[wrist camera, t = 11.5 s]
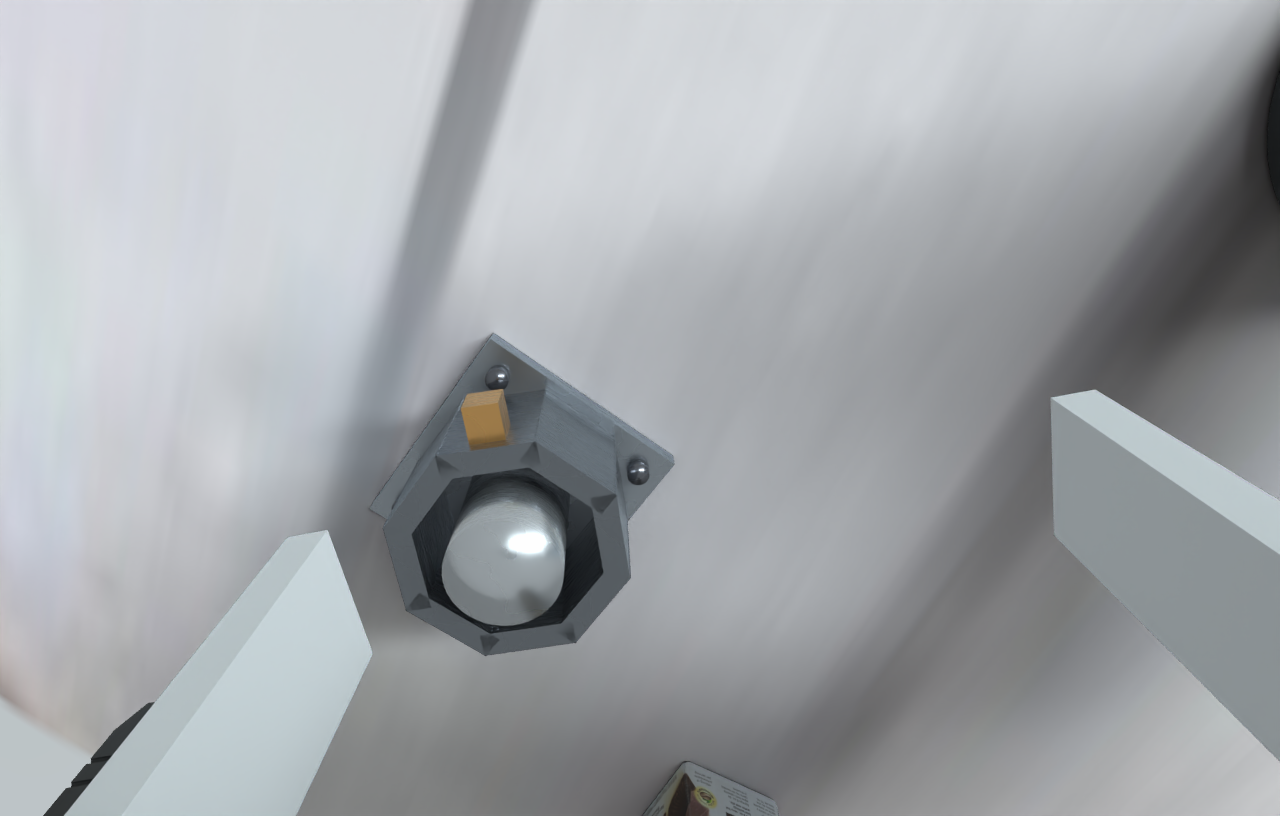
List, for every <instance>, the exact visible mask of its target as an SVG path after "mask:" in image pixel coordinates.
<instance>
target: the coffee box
mask: <svg viewBox="0 0 1280 816" xmlns="http://www.w3.org/2000/svg"><path fill="white" fill-rule="evenodd" d="M643 816H779V813H778V809H777V805H776V802H775V801H774V800H772V799H770V798H768V797H766V796H764V795H762V794H759V793H757V792H755V791H753V790H750V789H748V788H746V787H744V786H742V785H740V784H737V783H735V782H733V781H731V780H729V779H726V778H724V777H722V776H720V775H718V774H716V773H713V772H711V771H709V770H707V769H705V768H702V767H700V766H698V765H696V764H693V763H691V762H685V763H683V764H682V765H681V766H680V767H679V769H678V770H677V771H676V772H675V774H674V775H673V776H672V778H671V779H670V780H669V782H668V783H667V784H666V786H665V787H664V788H663V790H662V791H661V792H660V794H659V795H658V796H657V798H656V799H655V800H654V801H653V803H652V804H651V805H650V807H649V808H648V809H647V811H646V812H645V813H644V814H643Z"/></svg>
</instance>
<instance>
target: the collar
mask: <svg viewBox="0 0 1280 816" xmlns="http://www.w3.org/2000/svg"><path fill="white" fill-rule="evenodd" d="M522 468H531V469H532V470H534V471H536V472H537V473H539V474H540V475H542V476H543V477H545V478H546V479H548V480H549V481H551V482H553V483H554V484H556V485H557V486H559V487H560V488H562V489H563V490H565V491H566V492H568V493H570V494H571V495H573V496H574V497H576V498H577V499H579V500H580V501H582V502H584V503H585V504H587V505H588V506H590V507H591V508H592V511H593V518H592V519H591V520H590V521H589V523H588V524H587V525H586V526H585V528H584V529H583V530H582V531H581V532H580V534H579V535H578V536H577V537H576V539H575V540H574V541H573V542H572V544H571V545H570V546H569V547H568V548H567V549H566V554H565V566H564V577H563V584H562V588H561V591H560V593H559V595H558V597H557V599H556V601H555V602H554V603H553V605H552V606H551V607H550V608H549V609H548V610H547V611H546V612H544V613H543V614H542V615H540V616H538V617H537V618H535V619H533V620H531V621H528V622H525V623H522V624H517V625H509V626H499V625H491V624H487V623H483V622H481V621H478V620H476V619H474V618H472V617H470V616H468V615H467V614H465V613H464V612H462V611H461V610H460V609H459V608H458V607H457V606H456V605H455V604H454V603H453V602H452V600H451V599H450V597H449V596H448V594H447V592H446V590H445V587H444V584H443V580H442V563H443V559H444V556H445V553H446V550H447V547H448V544H449V542H450V539H451V536H452V533H453V530H454V527H455V525H454V521H453V517H452V513H451V509H450V505H449V501H448V497H447V493H446V489H445V488H446V487H447V485H448V484H449V483H450V481H451V480H452V479H453V478H460V477H467V476H474V475H481V474H488V473H494V472H501V471H508V470H515V469H522ZM383 530H384V534H385V537H386V541H387V544H388V548H389V551H390V555H391V558H392V562H393V565H394V569H395V572H396V576H397V579H398V583H399V587H400V590H401V594H402V597H403V601H404V604H405V608H406V611H408V612H410V613H411V614H413V615H415V616H417V617H418V618H420V619H422V620H424V621H425V622H427V623H429V624H431V625H432V626H434V627H436V628H438V629H439V630H441V631H443V632H445V633H446V634H448V635H450V636H452V637H453V638H455V639H457V640H459V641H460V642H462V643H464V644H466V645H467V646H469V647H471V648H473V649H474V650H476V651H478V652H480V653H481V654H483V655H484V656H487V655H494V654H501V653H508V652H515V651H522V650H529V649H536V648H543V647H549V646H556V645H563V644H570V643H576V642H577V641H578V639H579V638H580V637H581V636H582V635H583V634H584V632H585V631H586V630H587V629H588V628H589V626H590V625H591V624H592V623H593V622H594V621H595V619H596V618H597V617H598V616H599V615H600V613H601V612H602V611H603V610H604V609H605V608H606V606H607V605H608V604H609V603H610V602H611V601H612V599H613V598H614V597H615V596H616V595H617V593H618V592H619V591H620V590H621V589H622V588H623V586H624V585H625V584H626V583H627V582H628V581H629V579H630V578H631V572H630V554H629V537H628V520H627V508H626V504H625V497H624V491H623V485H622V479H621V473H620V467H619V461H618V455H617V448H616V442H615V435H613V434H612V433H610V432H609V431H607V430H606V429H604V428H603V427H602V426H600V425H599V424H597V423H596V422H594V421H593V420H591V419H590V418H588V417H587V416H585V415H584V414H582V413H581V412H579V411H578V410H576V409H575V408H573V407H572V406H571V405H569V404H568V403H566V402H565V401H563V400H562V399H560V398H559V397H557V396H556V395H554V394H553V393H551V392H550V391H548V390H547V389H541V390H535V391H528V392H521V393H514V394H507V395H504V392H503V389H498V390H491V391H484V392H478V393H471V394H467V396H466V398H465V400H464V401H461V402H460V404H459V406H458V407H457V409H456V410H455V411H454V413H453V414H452V416H451V417H450V418H449V420H448V421H447V422H446V424H445V425H444V427H443V428H442V429H441V431H440V432H439V434H438V435H437V436H436V438H435V439H434V441H433V442H432V443H431V445H430V446H429V447H428V449H427V450H426V452H425V453H424V454H423V456H422V457H421V459H420V460H419V461H418V463H416V465H415V467H414V469H413V471H412V473H411V475H410V477H409V479H408V480H407V482H406V484H405V486H404V488H403V490H402V492H401V494H400V496H399V498H398V500H397V502H396V503H395V505H394V507H393V509H392V511H391V513H390V515H389V517H388V519H387V521H386V523H385V524H384V526H383Z"/></svg>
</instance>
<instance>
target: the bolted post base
mask: <svg viewBox="0 0 1280 816" xmlns="http://www.w3.org/2000/svg"><path fill="white" fill-rule="evenodd" d="M498 389H503V392H504V395H507V394H514V393H521V392H528V391H535V390H541V389H547V390H548V391H550V392H551V393H553V394H554V395H556V396H557V397H559V398H560V399H562V400H563V401H565V402H566V403H568V404H569V405H571V406H572V407H573V408H575V409H576V410H578V411H579V412H581V413H582V414H584V415H585V416H587V417H588V418H590V419H591V420H593V421H594V422H596V423H597V424H599V425H600V426H602V427H603V428H604V429H606V430H607V431H609V432H610V433H612V434H613V435H615V442H616V448H617V455H618V461H619V467H620V473H621V479H622V485H623V491H624V497H625V504H626V508H627V520H629V519H630V518H631V517H632V515H633V514H634V513H635V512H636V510H637V509H638V508H639V507H640V506H641V504H642V503H643V502H644V501H645V500H646V498H647V497H648V496H649V495H650V494H651V492H652V491H653V490H654V489H655V487H656V486H657V485H658V484H659V483H660V481H661V480H662V479H663V478H664V477H665V475H666V474H667V473H668V472H669V471H670V469H671V468H672V467H673V466H674V459H673V455H671V454H670V453H668V452H667V451H666V450H664V449H663V448H661V447H660V446H658V445H657V444H655V443H654V442H652V441H651V440H649V439H648V438H647V437H645V436H644V435H642V434H641V433H639V432H638V431H636V430H635V429H633V428H632V427H630V426H629V425H627V424H626V423H625V422H623V421H622V420H620V419H619V418H617V417H616V416H614V415H613V414H611V413H610V412H608V411H607V410H606V409H604V408H603V407H601V406H600V405H598V404H597V403H595V402H594V401H592V400H591V399H589V398H588V397H587V396H585V395H584V394H582V393H581V392H579V391H578V390H576V389H575V388H573V387H572V386H570V385H569V384H568V383H566V382H565V381H563V380H562V379H560V378H559V377H557V376H556V375H554V374H553V373H551V372H550V371H549V370H547V369H546V368H544V367H543V366H541V365H540V364H538V363H537V362H535V361H534V360H532V359H531V358H529V357H528V356H527V355H525V354H524V353H522V352H521V351H519V350H518V349H516V348H515V347H513V346H512V345H510V344H509V343H508V342H506V341H505V340H503V339H502V338H500V337H499V336H497V335H496V334H494V333H493V334H492V335H491V337H490V338H489V340H488V341H487V342H486V344H485V345H484V347H483V348H482V349H481V351H480V352H479V354H478V355H477V356H476V358H475V359H474V361H473V362H472V363H471V365H470V366H469V368H468V369H467V371H466V372H465V373H464V375H463V376H462V378H461V379H460V380H459V382H458V383H457V385H456V386H455V387H454V389H453V390H452V392H451V393H450V394H449V396H448V397H447V399H446V400H445V401H444V403H443V404H442V406H441V407H440V408H439V410H438V411H437V413H436V414H435V415H434V417H433V418H432V420H431V421H430V423H429V424H428V425H427V427H426V428H425V430H424V431H423V432H422V434H421V435H420V437H419V438H418V439H417V441H416V442H415V444H414V445H413V446H412V448H411V449H410V451H409V452H408V453H407V455H406V456H405V458H404V459H403V460H402V462H401V463H400V465H399V466H398V467H397V469H396V470H395V472H394V473H393V475H392V476H391V477H390V479H389V480H388V482H387V483H386V484H385V486H384V487H383V489H382V490H381V491H380V493H379V494H378V496H377V497H376V498H375V500H374V502H373V503H372V505H371V507H370V510H372V511H374V512H376V513H377V514H379V515H381V516H382V517H384V518H386V519H388V517H389V515H390V513H391V511H392V509H393V507H394V505H395V503H396V502H397V500H398V498H399V496H400V494H401V492H402V490H403V488H404V486H405V484H406V482H407V480H408V479H409V477H410V475H411V473H412V471H413V469H414V467H415V465H416V463H418V461H419V460H420V459H421V457H422V456H423V454H424V453H425V452H426V450H427V449H428V447H429V446H430V445H431V443H432V442H433V441H434V439H435V438H436V436H437V435H438V434H439V432H440V431H441V429H442V428H443V427H444V425H445V424H446V422H447V421H448V420H449V418H450V417H451V416H452V414H453V413H454V411H455V410H456V409H457V407H458V406H459V404H460V402H461V401H464V400H465V398H466V396H467V394H471V393H478V392H484V391H491V390H498ZM445 489H446V493H447V497H448V501H449V505H450V509H451V513H452V517H453V521H454V525H455V527H454V530H453V533H452V536H451V539H450V542H449V544H448V547H447V550H446V553H445V556H444V559H443V563H442V580H443V584H444V587H445V590H446V592H447V594H448V596H449V597H450V599H451V600H452V602H453V603H454V604H455V605H456V606H457V607H458V608H459V609H460V610H461V611H462V612H464V613H465V614H467V615H468V616H470V617H472V618H474V619H476V620H478V621H481V622H483V623H487V624H491V625H499V626H509V625H517V624H522V623H525V622H528V621H531V620H533V619H535V618H537V617H538V616H540V615H542V614H543V613H544V612H546V611H547V610H548V609H549V608H550V607H551V606H552V605H553V603H554V602H555V601H556V599H557V597H558V595H559V593H560V591H561V588H562V584H563V577H564V566H565V554H566V549H567V548H568V547H569V546H570V545H571V544H572V542H573V541H574V540H575V539H576V537H577V536H578V535H579V534H580V532H581V531H582V530H583V529H584V528H585V526H586V525H587V524H588V523H589V521H590V520H591V519H592V518H593V511H592V508H591V507H590V506H588V505H587V504H585V503H584V502H582V501H580V500H579V499H577V498H576V497H574V496H573V495H571V494H570V493H568V492H566V491H565V490H563V489H562V488H560V487H559V486H557V485H556V484H554V483H553V482H551V481H549V480H548V479H546V478H545V477H543V476H542V475H540V474H539V473H537V472H536V471H534V470H532V469H531V468H522V469H515V470H508V471H501V472H494V473H488V474H481V475H474V476H467V477H460V478H453V479H452V480H451V481H450V483H449V484H448V485H447V487H446V488H445Z"/></svg>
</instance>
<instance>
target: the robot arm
mask: <svg viewBox="0 0 1280 816" xmlns="http://www.w3.org/2000/svg"><path fill="white" fill-rule="evenodd" d="M1267 146H1268V161H1269V169H1270V174H1271V179H1272V183H1273V187H1274V190H1275V193H1276V196H1277V199H1278V201H1279V203H1280V72H1279V75H1278V78H1277V81H1276V85H1275V89H1274V93H1273V97H1272V102H1271V107H1270V114H1269V122H1268V136H1267ZM1051 433H1052V474H1053V514H1054V536H1055V537H1056V538H1057V539H1058V540H1059V541H1060V542H1061V543H1062V544H1063V545H1064V546H1065V547H1066V548H1067V549H1068V550H1069V551H1070V552H1071V553H1072V554H1073V555H1074V556H1075V557H1076V558H1077V559H1078V560H1079V561H1080V562H1081V563H1082V564H1083V565H1084V566H1085V567H1086V568H1087V569H1088V570H1089V571H1090V572H1091V573H1092V574H1093V575H1094V576H1095V577H1096V578H1097V579H1098V580H1099V581H1100V582H1101V583H1102V584H1103V585H1104V586H1105V587H1106V588H1107V589H1108V590H1109V591H1110V592H1111V593H1112V594H1113V595H1114V596H1115V597H1116V598H1117V599H1118V600H1119V601H1120V602H1121V603H1122V604H1123V605H1124V606H1125V607H1126V608H1127V609H1128V610H1129V611H1130V612H1131V613H1132V614H1133V615H1134V616H1135V617H1136V618H1137V619H1138V620H1139V621H1140V622H1141V623H1142V624H1143V625H1144V626H1145V627H1146V628H1147V629H1148V630H1149V631H1150V632H1151V633H1152V634H1153V635H1154V636H1155V637H1156V638H1157V639H1158V640H1159V641H1160V642H1161V643H1162V644H1163V645H1164V646H1165V647H1166V648H1167V649H1168V650H1169V651H1170V652H1171V653H1172V654H1173V655H1174V656H1175V657H1176V658H1177V659H1178V660H1179V661H1180V662H1181V663H1182V664H1183V665H1184V666H1185V667H1186V668H1187V669H1188V670H1189V671H1190V672H1191V673H1192V674H1193V675H1194V676H1195V677H1196V678H1197V679H1198V680H1199V681H1200V682H1201V683H1202V684H1203V685H1204V686H1205V687H1206V688H1207V689H1208V690H1209V691H1210V692H1211V693H1212V694H1213V695H1214V696H1215V697H1216V698H1217V699H1218V700H1219V701H1220V702H1221V703H1222V704H1223V705H1224V706H1225V707H1226V708H1227V709H1228V710H1229V711H1230V712H1231V713H1232V714H1233V715H1234V716H1235V717H1236V718H1237V719H1238V720H1239V721H1240V722H1241V723H1242V724H1243V725H1244V726H1245V727H1246V728H1247V729H1248V730H1249V731H1250V732H1251V733H1252V734H1253V735H1254V736H1255V737H1256V738H1257V739H1258V740H1259V741H1260V742H1261V743H1262V744H1263V745H1264V746H1265V747H1266V748H1267V749H1268V750H1269V751H1270V752H1271V753H1272V754H1273V755H1274V756H1275V757H1276V758H1277V759H1278V760H1279V761H1280V500H1278V499H1276V498H1275V497H1273V496H1271V495H1270V494H1268V493H1266V492H1265V491H1263V490H1261V489H1260V488H1258V487H1256V486H1255V485H1253V484H1251V483H1250V482H1248V481H1246V480H1245V479H1243V478H1241V477H1240V476H1238V475H1236V474H1235V473H1233V472H1231V471H1230V470H1228V469H1226V468H1225V467H1223V466H1221V465H1220V464H1218V463H1216V462H1215V461H1213V460H1211V459H1210V458H1208V457H1206V456H1205V455H1203V454H1201V453H1200V452H1198V451H1196V450H1195V449H1193V448H1191V447H1190V446H1188V445H1186V444H1185V443H1183V442H1181V441H1180V440H1178V439H1176V438H1175V437H1173V436H1171V435H1170V434H1168V433H1167V432H1165V431H1163V430H1162V429H1160V428H1158V427H1157V426H1155V425H1153V424H1152V423H1150V422H1148V421H1147V420H1145V419H1143V418H1142V417H1140V416H1138V415H1137V414H1135V413H1133V412H1132V411H1130V410H1128V409H1127V408H1125V407H1123V406H1122V405H1120V404H1118V403H1117V402H1115V401H1113V400H1112V399H1110V398H1108V397H1107V396H1105V395H1103V394H1102V393H1100V392H1098V391H1097V390H1090V391H1084V392H1079V393H1073V394H1068V395H1063V396H1057V397H1052V398H1051ZM372 654H373V652H372V650H371V647H370V644H369V641H368V639H367V636H366V633H365V631H364V628H363V625H362V622H361V620H360V617H359V614H358V612H357V609H356V606H355V603H354V601H353V598H352V595H351V592H350V590H349V587H348V584H347V582H346V579H345V576H344V573H343V571H342V568H341V565H340V563H339V560H338V557H337V554H336V552H335V549H334V546H333V543H332V541H331V538H330V535H329V533H328V530H325V531H319V532H314V533H308V534H303V535H297V536H292V537H287V539H286V540H285V541H284V542H283V543H282V545H281V546H280V547H279V548H278V550H277V551H276V552H275V553H274V555H273V556H272V557H271V558H270V560H269V561H268V562H267V563H266V565H265V566H264V567H263V568H262V570H261V571H260V572H259V573H258V575H257V576H256V577H255V578H254V580H253V581H252V582H251V583H250V585H249V586H248V587H247V588H246V590H245V591H244V592H243V593H242V595H241V596H240V597H239V598H238V600H237V601H236V602H235V603H234V605H233V606H232V607H231V608H230V610H229V611H228V612H227V613H226V615H225V616H224V617H223V618H222V619H221V621H220V622H219V623H218V624H217V626H216V627H215V628H214V629H213V631H212V632H211V633H210V634H209V636H208V637H207V638H206V639H205V641H204V642H203V643H202V644H201V646H200V647H199V648H198V649H197V651H196V652H195V653H194V654H193V656H192V657H191V658H190V659H189V661H188V662H187V663H186V664H185V666H184V667H183V668H182V669H181V671H180V672H179V673H178V674H177V676H176V677H175V678H174V679H173V681H172V682H171V683H170V684H169V686H168V687H167V688H166V689H165V690H164V692H163V693H162V694H161V695H160V697H159V698H158V699H157V700H156V702H153V703H148V704H147V705H145V706H144V707H143V708H142V709H140V710H139V711H138V712H137V713H135V714H134V715H133V716H132V717H130V718H129V719H128V720H127V721H125V722H124V723H123V724H122V725H120V726H119V727H118V728H117V729H115V730H114V731H113V733H112V734H111V735H110V736H109V737H108V739H107V740H106V741H105V742H104V743H103V745H102V746H101V747H100V748H99V749H98V751H97V752H96V753H95V754H94V755H93V757H92V758H91V764H86V765H85V766H84V767H83V769H82V770H81V771H80V772H79V773H78V775H77V776H76V777H75V778H74V779H73V781H72V782H71V783H72V786H71V788H66V789H65V790H64V791H63V793H62V794H61V795H60V796H59V797H58V799H57V800H56V801H55V802H54V803H53V805H52V806H51V807H50V808H49V809H48V811H47V812H46V813H45V814H44V815H43V816H296V815H297V813H298V811H299V808H300V806H301V804H302V802H303V800H304V798H305V796H306V794H307V792H308V789H309V787H310V785H311V783H312V781H313V779H314V777H315V775H316V773H317V770H318V768H319V766H320V764H321V762H322V760H323V758H324V756H325V754H326V751H327V749H328V747H329V745H330V743H331V741H332V739H333V737H334V735H335V732H336V730H337V728H338V726H339V724H340V722H341V720H342V718H343V716H344V713H345V711H346V709H347V707H348V705H349V703H350V701H351V699H352V697H353V694H354V692H355V690H356V688H357V686H358V684H359V682H360V680H361V678H362V675H363V673H364V671H365V669H366V667H367V665H368V663H369V661H370V659H371V656H372Z"/></svg>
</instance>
